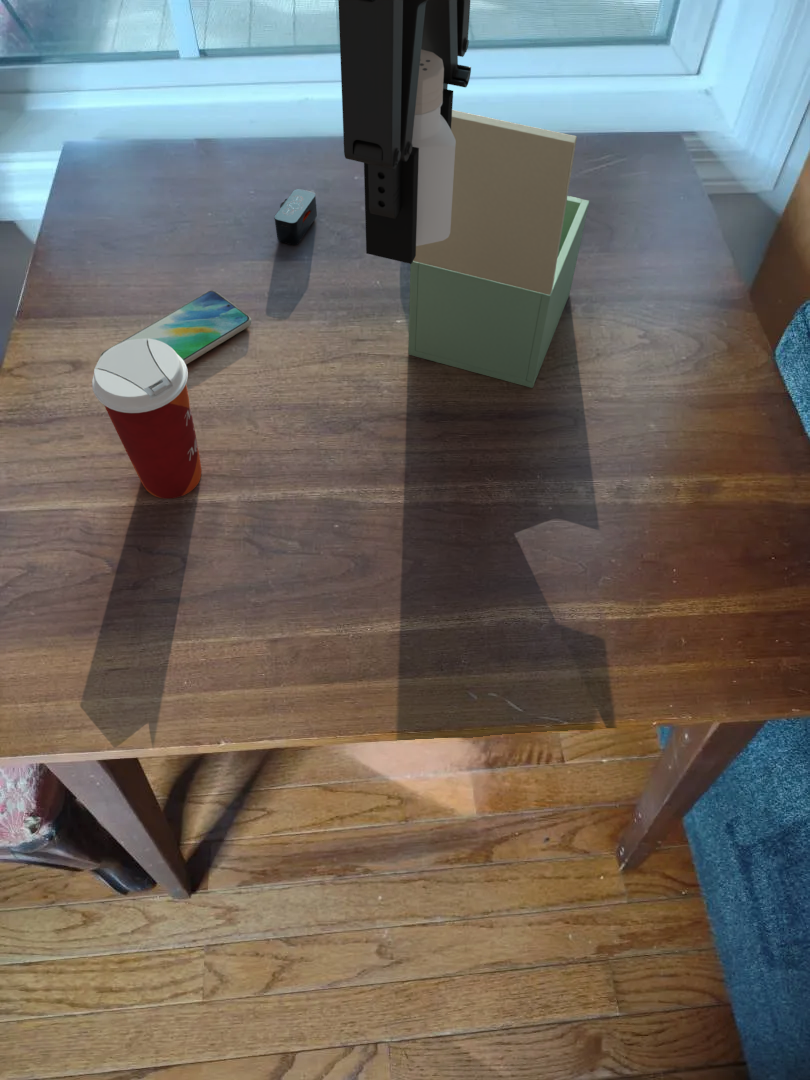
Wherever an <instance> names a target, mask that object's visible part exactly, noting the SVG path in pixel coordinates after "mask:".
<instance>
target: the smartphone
mask: <svg viewBox="0 0 810 1080" xmlns="http://www.w3.org/2000/svg"><path fill="white" fill-rule="evenodd" d="M251 325H252V318H251V317H250V316H249V314H247V313H246V312H244V311H243V310H242V309H240V308H239V307H238V306H236V305H235V304H234V303H232V302H231V301H229V300H228V299H227V298H225V297H224V296H223V295H222V294H221V293H219V292H217V291H216V290H208V291H206V292H204V293H202V294H200V295H199V296H197V297H196V298H194V299H192V300H191V301H189V302H187V303H185V304H183V305H182V306H180V307H178V308H176V309H175V310H173V311H171V312H170V313H168V314H166V315H164V316H163V317H161V318H159V319H157V320H156V321H153V323H151V324H148V325H147V326H145V327H143V328H142V329H140V330H138V331H136V332H135V333H133V334H131V335H129V336H128V337H126V338H125V339H123V340H121V341H119V342H118V343H115V344H114V345H112V346H110V347H109V348H107V349H105V350H103V351H102V352H101V353H100V355H99V358H100V357H101V356H102V355H103V354H104V353H105V352H106V351H107V350H109V349H110V348H112V347H113V346H115V345H117V344H119V343H122V342H124V341H128V340H134V339H147V340H148V339H154V340H158V341H161V342H163V343H165V344H167V345H169V346H170V347H171V348H172V349H173V350H174V351H175V352H176V353H177V354H178V355H179V356H180V357H181V358H182V359H183V361H184V362H185V364H186V365H188V364H190V363H191V362H193V361H195V360H196V359H198V358H200V357H201V356H203V355H204V354H206V353H207V352H209V351H211V350H212V349H214V348H216V347H218V346H220V345H221V344H223V343H224V342H227V340H229V339H231V338H232V337H234V336H235V335H238V334H239V333H241V332H242V331H244V330H246V329H247V328H249V327H250V326H251Z"/></svg>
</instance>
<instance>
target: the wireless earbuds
mask: <svg viewBox="0 0 810 1080" xmlns="http://www.w3.org/2000/svg"><path fill="white" fill-rule="evenodd" d="M279 207H280V208H279V210H278V211H277V212H276V213H275V215H274V224H275V225H274V226H275V234H276V238H277V240H278V242H281V243H283V244H287V245H292V246H297V245H298V244H299V243H300V241H302V239H303V237H304V236H305V234H306V233H307V231H308V230H309V229H310V228H311V226H312V225H313V223H314V221H315V220H316V219H317V216H318V211H317V197H316V192H313V191H310V190H306V189H302V188H295V189H294V190H292V192H291V193H290V194H289V196H288V197H287V198H285V199H284V200H283V201H282V202H281V203H280V206H279Z"/></svg>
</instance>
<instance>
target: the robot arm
mask: <svg viewBox="0 0 810 1080" xmlns="http://www.w3.org/2000/svg"><path fill="white" fill-rule="evenodd" d="M337 1H338V25H339V27H338V28H339V29H338V31H339V54H340V55H339V56H340V58H339V59H340V80H341V81H340V82H341V104H342V105H341V107H342V109H341V110H342V132H343V133H342V135H343V154H344V158H345V159H346V160H349V161H354V162H359V163H363V179H364V182H363V183H364V209H365V210H364V213H365V214H364V215H365V217H364V218H365V253H366V254H368V255H370V256H375V257H380V258H382V259H383V258H384V259H388V260H392V261H396V262H401V263H406V264H409V265H410V264H412V262H413V260H414V258H415V256H416V228H417V194H418V160H419V148H417V147H412V137H413V127H414V117H415V107H416V97H417V87H418V76H419V66H420V56H421V50H425V51H429V52H433V53H434V54H436V55H437V56H438V57H440V58H441V59H442V61H443V66H444V79H443V102H442V105H441V107H440V114H441V115H442V117H443V118H444V119H445V120H446V122H447V124H448V125H449V127H450V129H451V122H452V110H453V104H454V103H453V102H454V90H452V89H448V85H451V86H456V87H461V88H467V87H468V85H469V83H470V79H471V72H472V66H468V65H462V64H459V57H461V58H464V57H465V54H466V53H467V50H469V49H468V48H469V43H470V41H469V27H470V15H471V14H470V12H471V0H337Z"/></svg>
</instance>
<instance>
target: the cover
mask: <svg viewBox="0 0 810 1080" xmlns="http://www.w3.org/2000/svg"><path fill="white" fill-rule="evenodd" d="M451 131H452V133H453V135H454V137H455V141H456V144H455V161H454V178H453V195H452V212H451V229H450V235H449V237H448V238H446V239H445V240H443V241H439V242H434V243H429V244H424V245H419V246H416V256H415V258H414V260H413V261H415V262H419V263H423V264H427V265H431V266H435V267H439V268H443V269H447V270H451V271H455V272H459V273H463V274H467V275H471V276H475V277H479V278H483V279H487V280H491V281H495V282H499V283H503V284H507V285H511V286H515V287H519V288H523V289H527V290H531V291H535V292H539V293H543V294H547V295H550V294H551V292H552V289H553V283H554V276H555V270H556V264H557V258H558V252H559V246H560V239H561V233H562V227H563V221H564V215H565V208H566V202H567V196H569V190H570V184H571V176H572V170H573V165H574V158H575V154H576V153H575V152H576V146H577V139H578V137H577V135H573V134H567V133H563V132H558V131H554V130H549V129H545V128H540V127H535V126H531V125H527V124H521V123H517V122H511V121H507V120H501V119H498V118H492V117H488V116H483V115H479V114H474V113H468V112H464V111H460V110H455V109H452V122H451Z"/></svg>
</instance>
